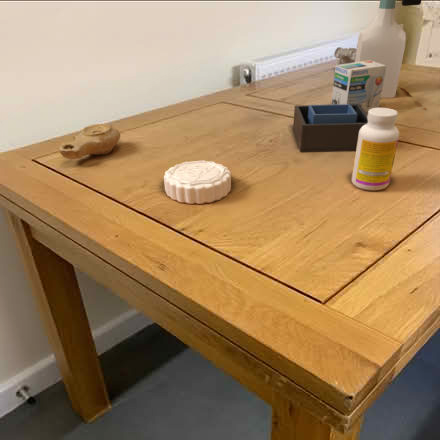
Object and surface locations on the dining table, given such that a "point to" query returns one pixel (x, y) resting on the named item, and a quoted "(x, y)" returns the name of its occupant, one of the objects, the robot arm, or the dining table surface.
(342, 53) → the elephant statuette
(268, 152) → the dining table surface
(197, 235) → the dining table surface
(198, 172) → the mooncake
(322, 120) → the blue bin
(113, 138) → the oil lamp
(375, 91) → the light bulb box
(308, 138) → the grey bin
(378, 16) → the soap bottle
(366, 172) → the supplement bottle
